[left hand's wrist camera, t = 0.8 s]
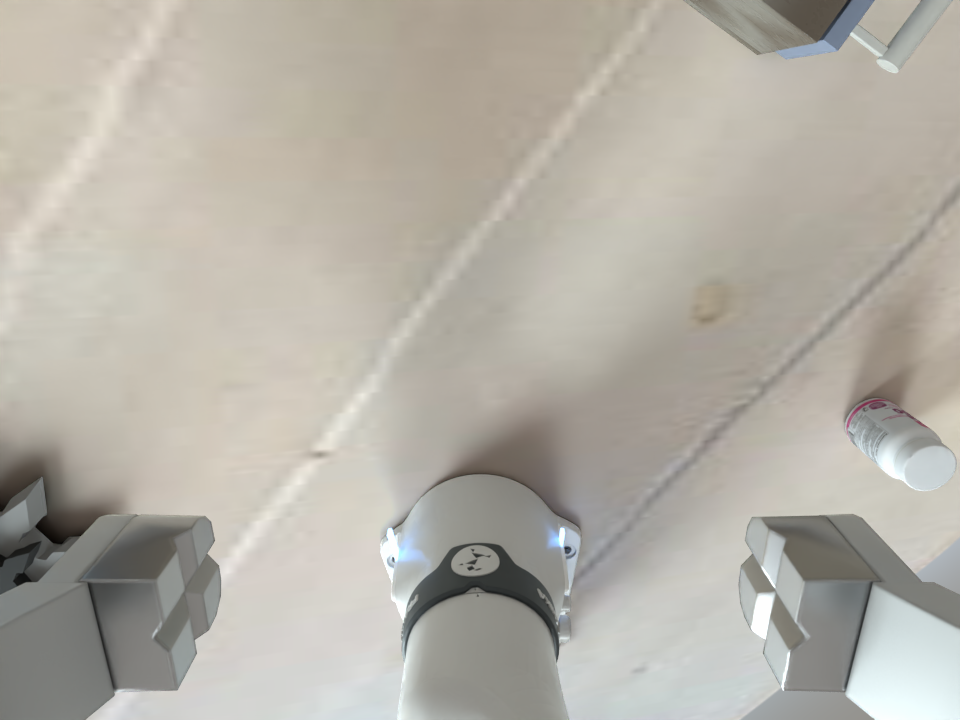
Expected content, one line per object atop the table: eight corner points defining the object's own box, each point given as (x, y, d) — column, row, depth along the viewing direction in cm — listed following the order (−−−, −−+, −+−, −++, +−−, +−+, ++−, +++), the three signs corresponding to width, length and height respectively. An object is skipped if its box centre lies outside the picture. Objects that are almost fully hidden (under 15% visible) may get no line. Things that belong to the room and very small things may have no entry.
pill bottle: (906, 399, 58) (972, 444, 51) (888, 448, 60) (949, 499, 52) (852, 393, 58) (911, 437, 50) (836, 442, 60) (890, 492, 52)
